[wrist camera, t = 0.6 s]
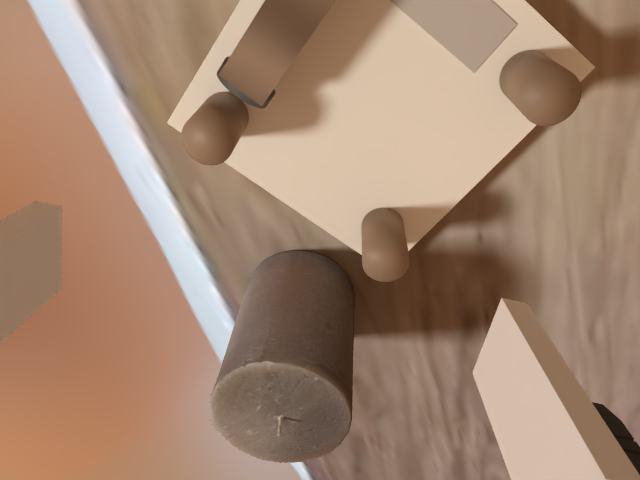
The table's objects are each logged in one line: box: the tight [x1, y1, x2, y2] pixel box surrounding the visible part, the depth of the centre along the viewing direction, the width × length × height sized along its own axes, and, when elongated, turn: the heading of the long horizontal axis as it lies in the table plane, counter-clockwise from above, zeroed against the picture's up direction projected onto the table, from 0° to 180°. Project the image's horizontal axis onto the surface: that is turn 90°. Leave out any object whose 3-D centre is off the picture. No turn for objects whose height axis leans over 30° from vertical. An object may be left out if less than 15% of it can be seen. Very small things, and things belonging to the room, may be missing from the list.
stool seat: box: [167, 0, 595, 282], centre depth 33 cm, size 20×20×8 cm
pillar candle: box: [210, 250, 355, 463], centre depth 39 cm, size 10×10×15 cm
